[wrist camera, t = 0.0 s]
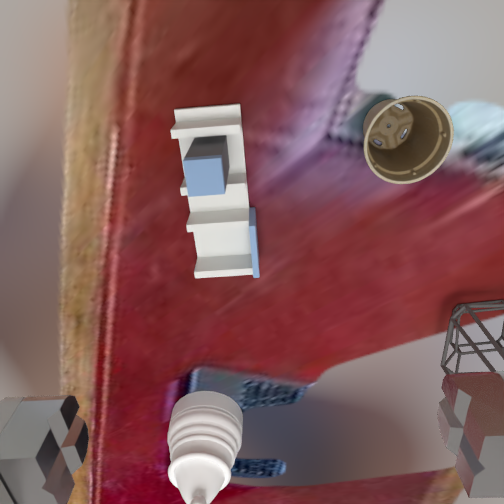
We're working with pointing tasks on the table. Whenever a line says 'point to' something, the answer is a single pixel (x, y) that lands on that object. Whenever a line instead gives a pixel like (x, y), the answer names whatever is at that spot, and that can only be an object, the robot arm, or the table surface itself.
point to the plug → (207, 166)
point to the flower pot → (407, 138)
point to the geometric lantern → (456, 315)
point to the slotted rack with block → (220, 197)
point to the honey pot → (203, 444)
